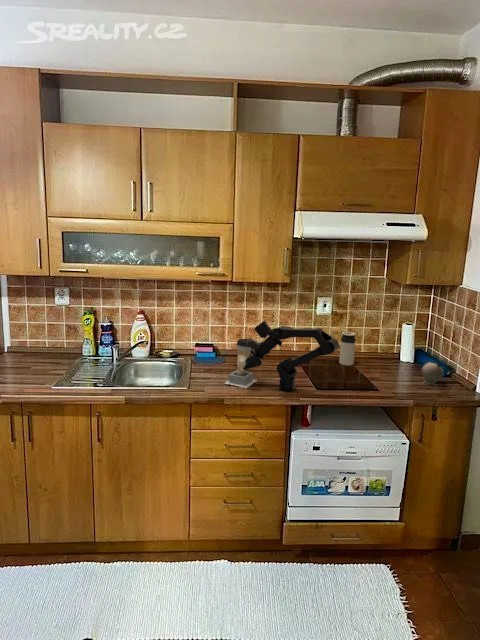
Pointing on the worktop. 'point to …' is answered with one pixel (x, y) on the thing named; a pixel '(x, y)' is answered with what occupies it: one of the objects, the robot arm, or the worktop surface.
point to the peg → (241, 365)
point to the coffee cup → (243, 348)
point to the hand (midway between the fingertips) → (244, 366)
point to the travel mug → (347, 348)
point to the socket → (241, 379)
